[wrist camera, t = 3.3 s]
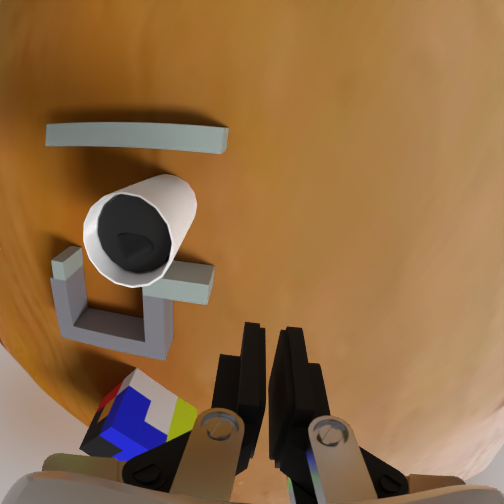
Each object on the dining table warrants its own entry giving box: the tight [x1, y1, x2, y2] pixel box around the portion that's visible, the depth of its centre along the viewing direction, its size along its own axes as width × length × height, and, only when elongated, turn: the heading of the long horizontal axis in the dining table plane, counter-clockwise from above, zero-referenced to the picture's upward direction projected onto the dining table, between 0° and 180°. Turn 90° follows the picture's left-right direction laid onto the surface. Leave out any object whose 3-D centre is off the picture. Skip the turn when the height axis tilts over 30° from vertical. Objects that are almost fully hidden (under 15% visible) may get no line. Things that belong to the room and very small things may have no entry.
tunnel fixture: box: [46, 122, 229, 360], centre depth 28 cm, size 30×22×5 cm
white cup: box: [83, 174, 197, 288], centre depth 25 cm, size 7×7×10 cm
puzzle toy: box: [79, 368, 197, 461], centre depth 35 cm, size 10×10×10 cm
